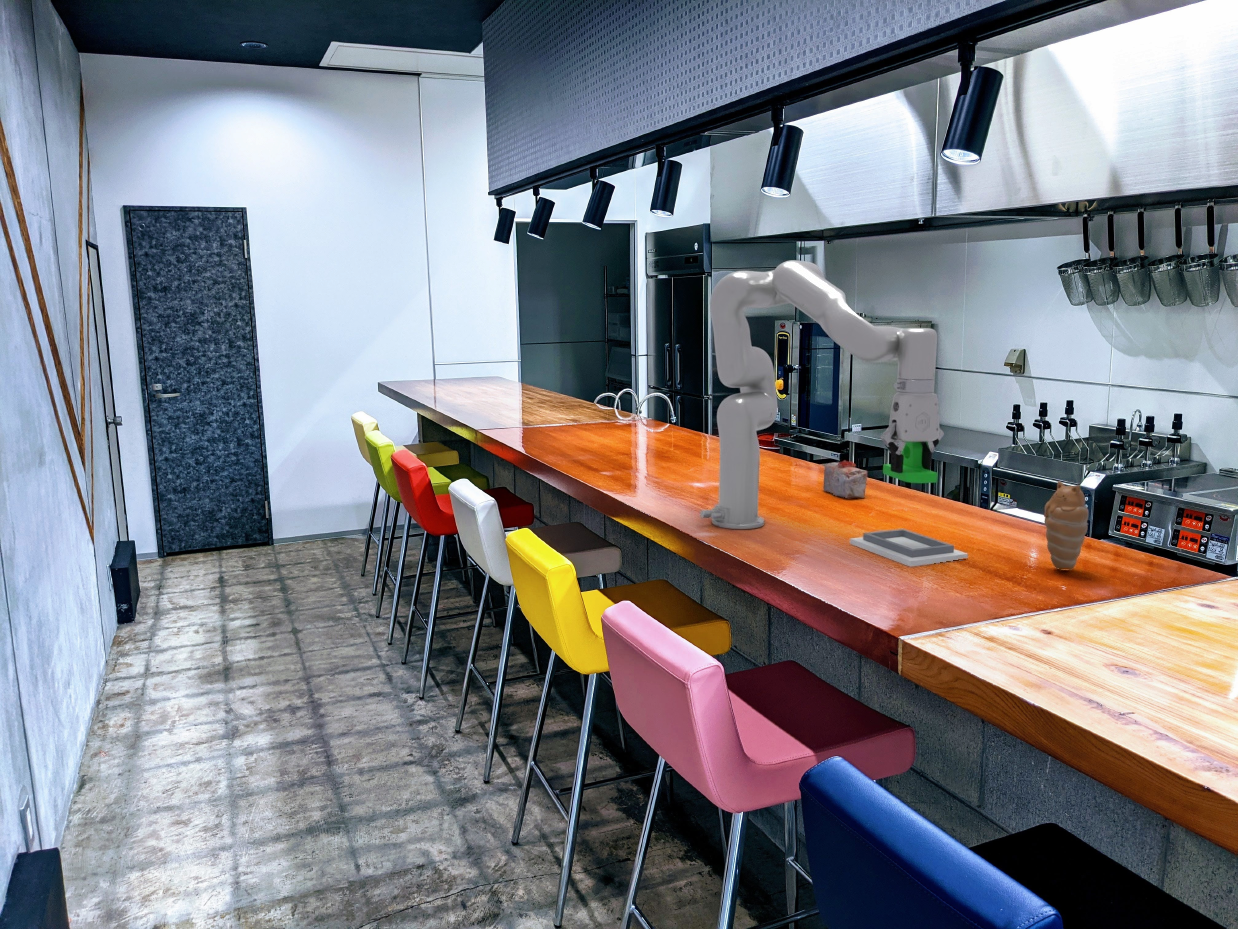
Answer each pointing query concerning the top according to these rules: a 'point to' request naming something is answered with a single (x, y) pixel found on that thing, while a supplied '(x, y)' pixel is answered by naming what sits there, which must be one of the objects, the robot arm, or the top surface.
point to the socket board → (907, 547)
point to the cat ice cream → (1066, 525)
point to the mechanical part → (912, 466)
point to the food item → (845, 480)
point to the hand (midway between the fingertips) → (910, 470)
